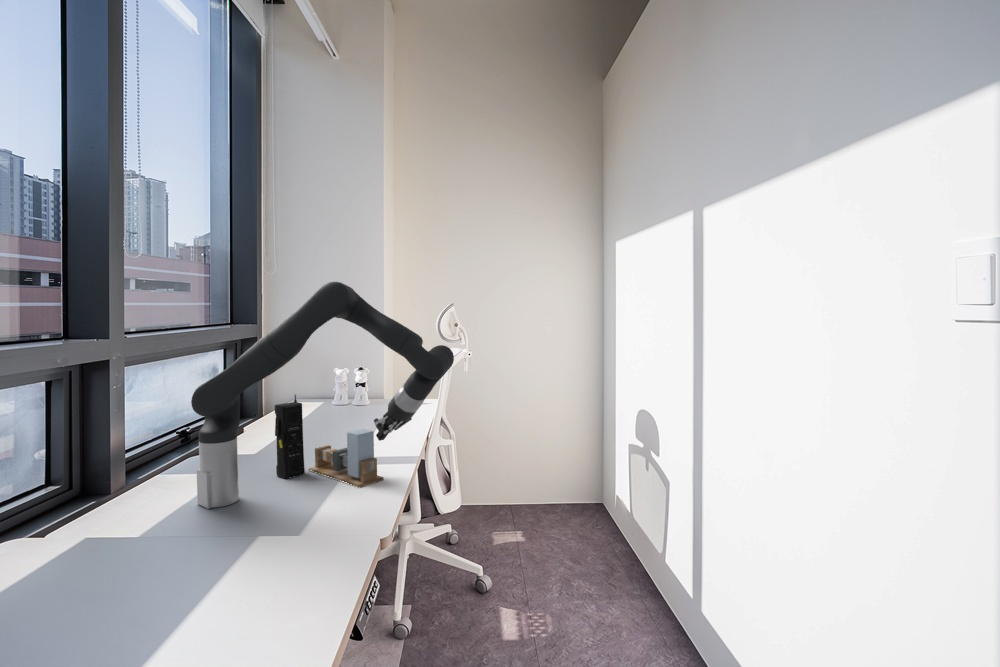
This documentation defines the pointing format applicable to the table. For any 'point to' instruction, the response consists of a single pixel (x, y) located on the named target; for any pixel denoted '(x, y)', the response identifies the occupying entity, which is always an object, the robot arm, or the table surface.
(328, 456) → the white long bar
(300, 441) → the portable radio
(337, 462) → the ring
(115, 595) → the table surface
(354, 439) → the sleeve
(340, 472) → the stand
